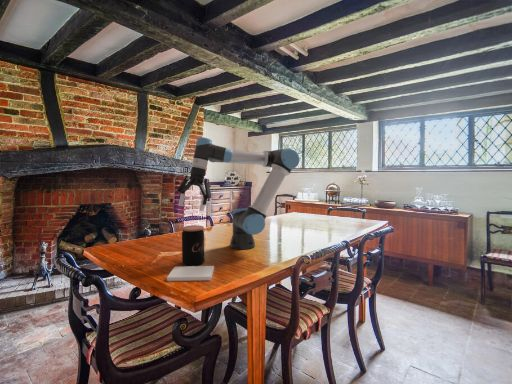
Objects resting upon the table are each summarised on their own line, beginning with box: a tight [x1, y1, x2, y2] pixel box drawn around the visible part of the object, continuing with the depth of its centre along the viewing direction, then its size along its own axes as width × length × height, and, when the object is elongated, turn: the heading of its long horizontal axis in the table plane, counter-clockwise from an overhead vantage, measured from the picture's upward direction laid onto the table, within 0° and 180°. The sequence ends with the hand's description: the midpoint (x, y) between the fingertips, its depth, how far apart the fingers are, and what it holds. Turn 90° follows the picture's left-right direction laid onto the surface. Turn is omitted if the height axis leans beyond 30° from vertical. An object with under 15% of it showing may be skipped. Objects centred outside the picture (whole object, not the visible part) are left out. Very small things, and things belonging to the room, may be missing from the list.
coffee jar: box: [181, 224, 205, 266], centre depth 142 cm, size 11×11×18 cm
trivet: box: [166, 265, 215, 282], centre depth 127 cm, size 18×14×2 cm
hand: (190, 208), depth 148 cm, fingers open, 13 cm apart
